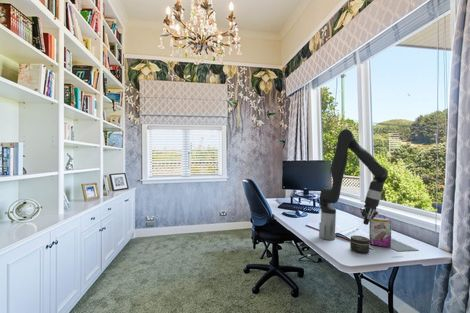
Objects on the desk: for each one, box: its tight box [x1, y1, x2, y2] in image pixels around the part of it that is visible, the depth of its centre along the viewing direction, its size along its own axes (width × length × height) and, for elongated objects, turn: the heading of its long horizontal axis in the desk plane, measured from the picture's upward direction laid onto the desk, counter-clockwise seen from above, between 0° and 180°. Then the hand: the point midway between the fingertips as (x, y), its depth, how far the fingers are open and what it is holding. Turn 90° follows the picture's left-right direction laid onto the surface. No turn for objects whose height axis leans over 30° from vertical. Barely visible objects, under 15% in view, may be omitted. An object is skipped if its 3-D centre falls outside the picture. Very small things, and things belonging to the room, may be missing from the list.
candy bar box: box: [368, 217, 392, 248], centre depth 146 cm, size 11×5×16 cm, turn 65°
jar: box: [349, 234, 370, 255], centre depth 137 cm, size 10×10×8 cm
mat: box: [388, 238, 419, 253], centre depth 148 cm, size 15×18×1 cm
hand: (365, 224), depth 146 cm, fingers closed
